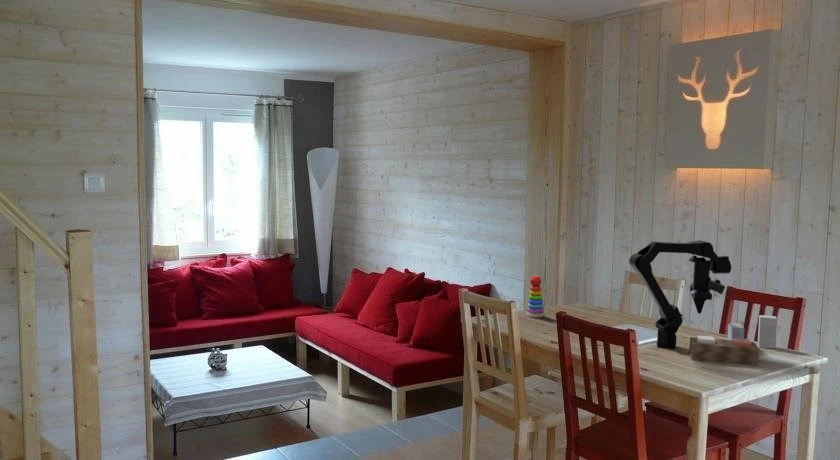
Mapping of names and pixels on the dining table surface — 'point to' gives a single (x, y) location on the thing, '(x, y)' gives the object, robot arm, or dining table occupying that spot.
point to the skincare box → (767, 331)
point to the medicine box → (735, 331)
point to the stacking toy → (535, 298)
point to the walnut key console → (724, 352)
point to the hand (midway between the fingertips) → (699, 313)
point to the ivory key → (705, 339)
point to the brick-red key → (741, 342)
